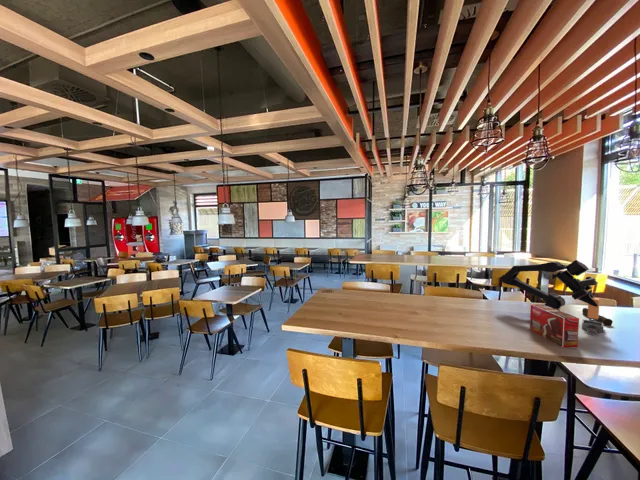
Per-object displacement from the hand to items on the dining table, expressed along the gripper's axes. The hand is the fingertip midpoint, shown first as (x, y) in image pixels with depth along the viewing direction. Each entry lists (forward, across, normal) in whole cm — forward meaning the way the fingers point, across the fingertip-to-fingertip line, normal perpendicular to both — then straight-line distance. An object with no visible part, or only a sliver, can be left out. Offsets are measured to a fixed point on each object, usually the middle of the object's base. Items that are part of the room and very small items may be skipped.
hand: (597, 305), depth 136 cm
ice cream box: (0, -30, +18) cm, 35 cm away
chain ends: (+8, 0, +10) cm, 13 cm away
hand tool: (+7, +19, +11) cm, 23 cm away
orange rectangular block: (+4, 0, +6) cm, 7 cm away
